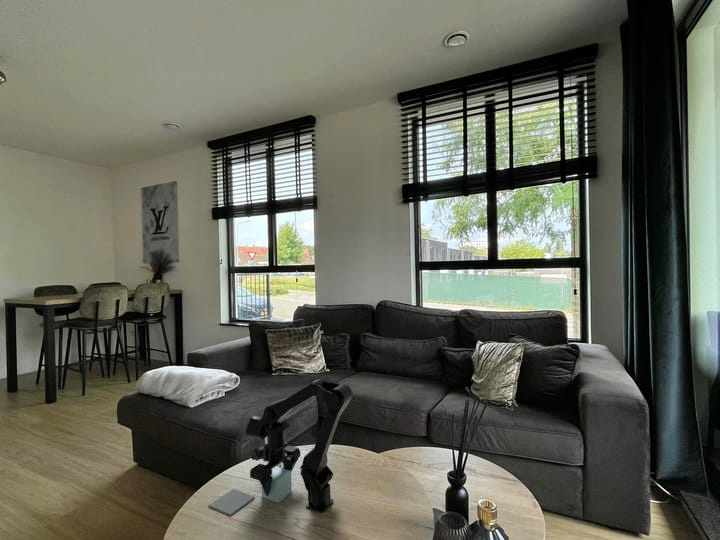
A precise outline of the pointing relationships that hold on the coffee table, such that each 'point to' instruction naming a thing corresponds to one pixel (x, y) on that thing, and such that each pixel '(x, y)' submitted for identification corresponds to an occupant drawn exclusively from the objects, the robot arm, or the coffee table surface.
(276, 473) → the pale blue cube
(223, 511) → the gray square plate
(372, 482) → the coffee table surface
